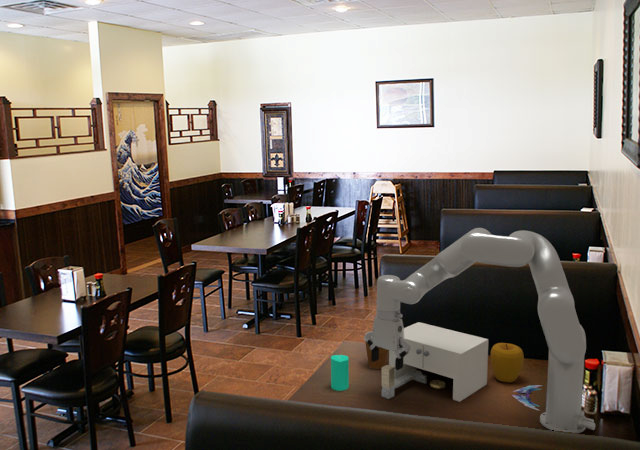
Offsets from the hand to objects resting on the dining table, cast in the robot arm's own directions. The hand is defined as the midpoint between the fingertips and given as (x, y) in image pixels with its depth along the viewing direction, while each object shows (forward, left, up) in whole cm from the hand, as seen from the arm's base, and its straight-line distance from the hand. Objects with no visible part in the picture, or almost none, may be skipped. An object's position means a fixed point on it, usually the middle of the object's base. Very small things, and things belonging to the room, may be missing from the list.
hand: (386, 364), depth 194 cm
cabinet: (-6, -21, -11) cm, 24 cm away
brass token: (-8, -18, -11) cm, 23 cm away
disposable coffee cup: (+18, -18, -11) cm, 28 cm away
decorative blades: (-34, -31, -11) cm, 47 cm away
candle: (+16, +5, -11) cm, 20 cm away
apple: (-23, -38, -11) cm, 46 cm away
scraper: (0, -8, -11) cm, 14 cm away
